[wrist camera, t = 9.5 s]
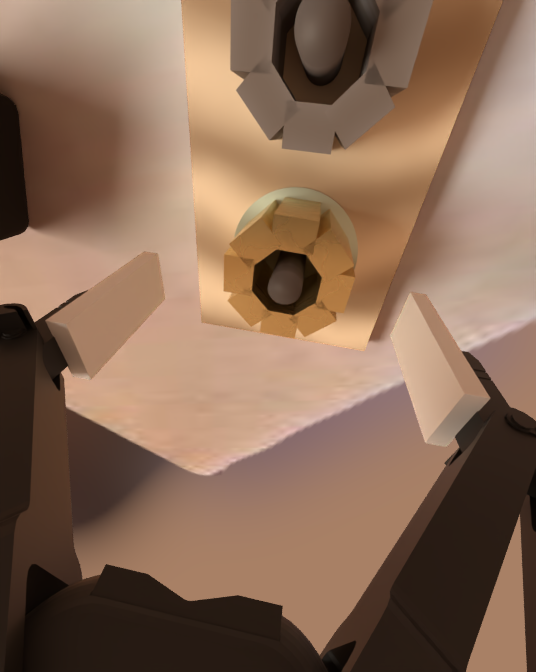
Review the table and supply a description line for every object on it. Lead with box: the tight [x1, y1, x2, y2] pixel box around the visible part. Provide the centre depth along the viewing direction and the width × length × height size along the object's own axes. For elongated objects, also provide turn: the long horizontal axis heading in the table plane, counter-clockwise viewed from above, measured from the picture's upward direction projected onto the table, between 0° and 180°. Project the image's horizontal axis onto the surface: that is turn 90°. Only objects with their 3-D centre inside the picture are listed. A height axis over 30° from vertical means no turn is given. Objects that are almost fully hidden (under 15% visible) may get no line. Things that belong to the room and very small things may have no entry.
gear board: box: [181, 0, 503, 351], centre depth 16 cm, size 26×15×7 cm, turn 174°
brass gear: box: [223, 197, 355, 339], centre depth 18 cm, size 8×8×5 cm
